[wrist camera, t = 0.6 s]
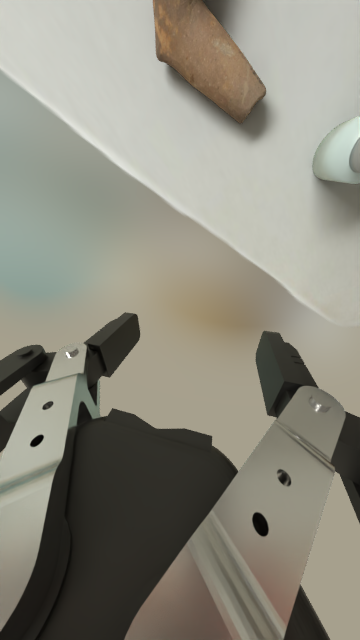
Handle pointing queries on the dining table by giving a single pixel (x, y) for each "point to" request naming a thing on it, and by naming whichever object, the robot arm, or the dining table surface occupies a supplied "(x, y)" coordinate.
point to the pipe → (206, 55)
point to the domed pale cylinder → (340, 154)
